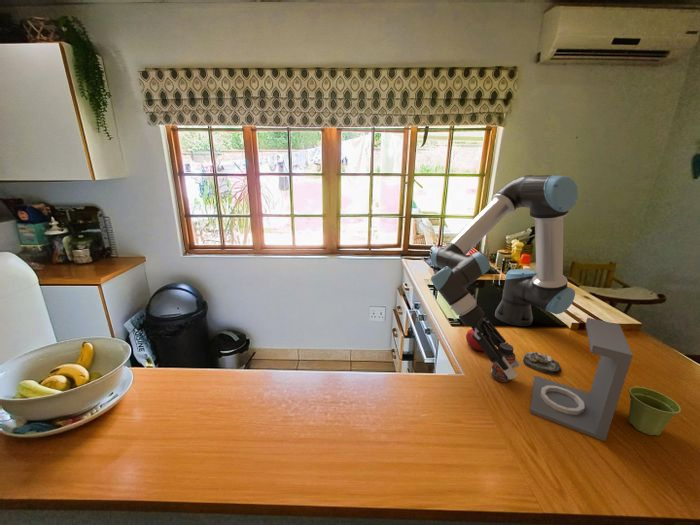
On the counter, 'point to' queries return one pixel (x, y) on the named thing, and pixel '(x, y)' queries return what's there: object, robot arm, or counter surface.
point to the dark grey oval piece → (541, 363)
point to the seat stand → (599, 405)
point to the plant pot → (650, 410)
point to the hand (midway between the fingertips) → (515, 371)
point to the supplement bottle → (506, 352)
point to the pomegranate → (472, 340)
